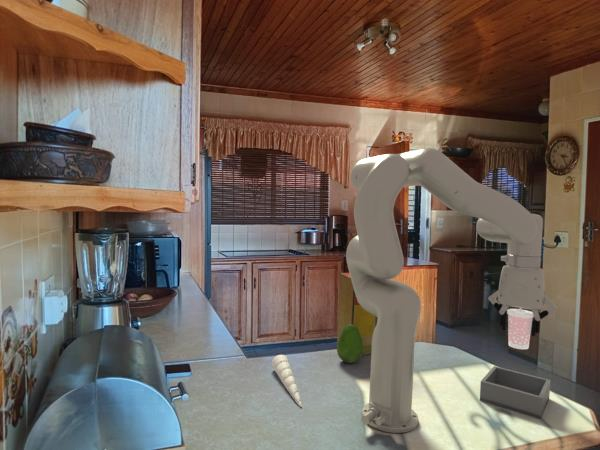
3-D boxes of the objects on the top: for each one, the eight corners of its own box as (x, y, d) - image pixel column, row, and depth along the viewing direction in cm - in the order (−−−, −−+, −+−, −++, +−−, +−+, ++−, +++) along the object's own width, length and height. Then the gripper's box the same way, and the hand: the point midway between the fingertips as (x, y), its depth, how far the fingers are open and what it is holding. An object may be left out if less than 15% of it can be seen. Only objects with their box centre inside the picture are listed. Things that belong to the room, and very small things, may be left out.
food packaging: (376, 354, 135) (379, 279, 134) (349, 356, 132) (352, 279, 131) (360, 341, 148) (363, 272, 146) (335, 342, 145) (338, 272, 144)
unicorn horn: (285, 410, 97) (286, 390, 96) (271, 370, 120) (271, 354, 120) (305, 409, 98) (306, 389, 97) (287, 369, 121) (287, 353, 121)
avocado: (354, 369, 122) (356, 329, 121) (331, 362, 126) (333, 324, 126) (366, 361, 129) (367, 323, 128) (343, 355, 133) (345, 318, 132)
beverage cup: (507, 340, 109) (510, 288, 109) (533, 345, 106) (536, 292, 105) (503, 346, 104) (506, 292, 104) (530, 352, 101) (534, 296, 100)
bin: (540, 419, 96) (542, 398, 96) (479, 400, 105) (480, 381, 104) (549, 398, 107) (550, 380, 107) (493, 383, 115) (494, 365, 115)
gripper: (483, 259, 106) (479, 328, 107) (561, 267, 96) (556, 343, 97) (490, 257, 112) (487, 322, 113) (565, 264, 102) (560, 336, 103)
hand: (519, 331), depth 105 cm, fingers closed on beverage cup, 6 cm apart
